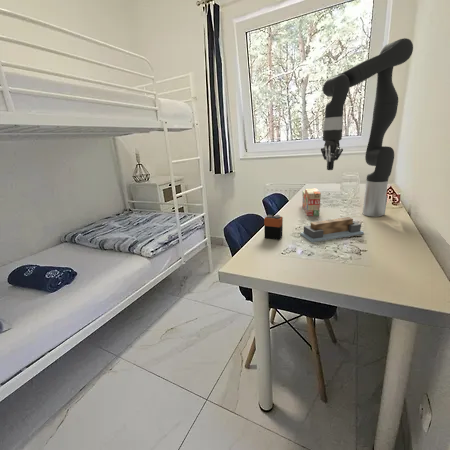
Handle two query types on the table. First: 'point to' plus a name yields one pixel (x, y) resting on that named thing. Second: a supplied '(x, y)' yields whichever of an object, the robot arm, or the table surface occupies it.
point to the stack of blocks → (311, 201)
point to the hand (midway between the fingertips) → (329, 169)
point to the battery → (273, 227)
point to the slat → (333, 225)
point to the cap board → (318, 234)
